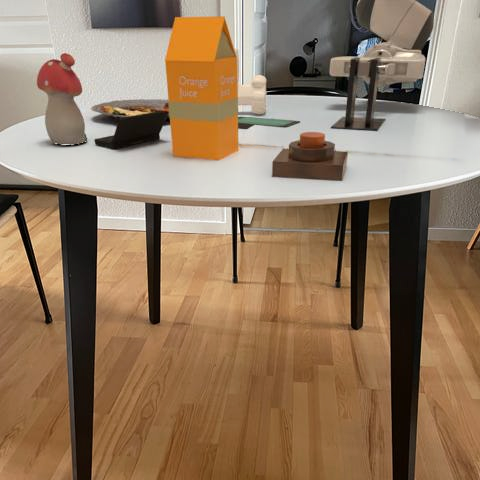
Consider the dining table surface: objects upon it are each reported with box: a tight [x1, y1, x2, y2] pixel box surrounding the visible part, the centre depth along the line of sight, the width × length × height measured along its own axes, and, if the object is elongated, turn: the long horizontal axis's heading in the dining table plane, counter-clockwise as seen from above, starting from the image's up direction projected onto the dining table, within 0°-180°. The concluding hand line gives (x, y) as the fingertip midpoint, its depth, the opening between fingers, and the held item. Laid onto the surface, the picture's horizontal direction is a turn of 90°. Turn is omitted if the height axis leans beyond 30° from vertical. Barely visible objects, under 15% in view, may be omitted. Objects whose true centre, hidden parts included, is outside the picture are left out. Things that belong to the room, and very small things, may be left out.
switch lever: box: [357, 59, 381, 78], centre depth 100 cm, size 14×4×4 cm, turn 159°
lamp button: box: [299, 131, 326, 148], centre depth 72 cm, size 4×4×2 cm
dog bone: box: [238, 74, 268, 115], centre depth 117 cm, size 15×9×8 cm, turn 85°
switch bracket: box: [330, 58, 386, 132], centre depth 98 cm, size 12×9×13 cm
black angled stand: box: [94, 110, 168, 149], centre depth 91 cm, size 12×7×10 cm
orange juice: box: [164, 16, 239, 161], centre depth 80 cm, size 8×9×20 cm
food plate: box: [90, 98, 170, 120], centre depth 116 cm, size 25×23×4 cm
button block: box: [271, 139, 349, 182], centre depth 73 cm, size 10×8×4 cm
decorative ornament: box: [36, 52, 88, 145], centre depth 90 cm, size 9×7×15 cm
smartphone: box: [238, 116, 301, 130], centre depth 105 cm, size 7×1×15 cm
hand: (371, 70), depth 104 cm, fingers closed on switch lever, 3 cm apart
